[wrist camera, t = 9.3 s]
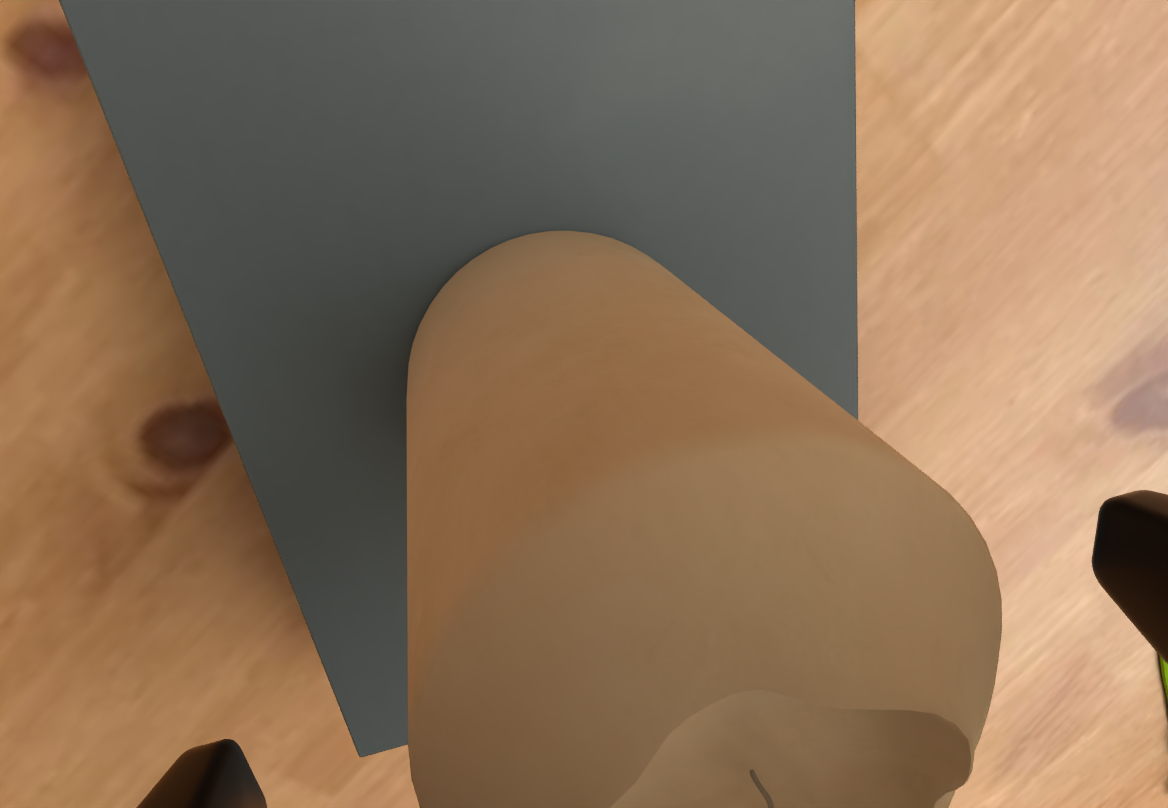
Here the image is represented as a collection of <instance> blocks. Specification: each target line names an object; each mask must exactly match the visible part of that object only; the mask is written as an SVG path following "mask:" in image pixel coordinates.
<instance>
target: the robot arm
mask: <svg viewBox="0 0 1168 808" xmlns="http://www.w3.org/2000/svg"><path fill="white" fill-rule="evenodd" d="M1092 567H1093V571H1094V574H1095V576H1096V578H1097V580H1098V582H1099V583H1100V585H1101V586H1102V587H1103V589H1104V590H1105V591H1106V592H1107V593H1108V595H1109V596H1110V597H1111V598H1112V599H1113V600H1114V602H1115V603H1116V604H1117V605H1118V606H1119V608H1120V609H1121V610H1122V611H1123V612H1124V613H1125V615H1126V616H1127V617H1128V618H1129V619H1130V621H1131V622H1132V623H1133V624H1134V625H1135V627H1136V628H1137V629H1138V630H1139V631H1140V632H1141V634H1142V635H1143V636H1144V637H1145V638H1146V640H1147V641H1148V642H1149V643H1150V644H1151V645H1152V647H1153V648H1154V649H1155V650H1156V651H1157V653H1158V654H1159V655H1160V656H1161V657H1162V658H1163V660H1164V661H1165V662H1166V663H1167V664H1168V495H1166V494H1162V493H1158V492H1154V491H1148V490H1139V491H1134V492H1130V493H1127V494H1123V495H1119V496H1116V497H1112V498H1109V499H1108V500H1106V501H1105V502H1104V503H1103V505H1102V506H1101V508H1100V511H1099V515H1098V522H1097V529H1096V535H1095V542H1094V548H1093V555H1092ZM137 808H267V804H266V801H265V797H264V795H263V793H262V791H261V789H260V787H259V785H258V782H257V780H256V778H255V776H254V774H253V772H252V770H251V768H250V766H249V764H248V762H247V760H246V758H245V756H244V754H243V752H242V750H241V748H240V746H239V745H238V744H237V743H236V742H235V741H233V740H230V739H224V740H220V741H216V742H213V743H209V744H205V745H202V746H198V747H194V748H192V749H189V750H187V751H186V752H184V753H183V754H182V755H181V756H180V757H179V758H178V759H177V760H176V762H175V763H174V764H173V765H172V766H171V767H170V769H169V770H168V771H167V772H166V773H165V775H164V776H163V777H162V778H161V779H160V781H159V782H158V783H157V784H156V785H155V786H154V788H153V789H152V790H151V791H150V792H149V794H148V795H147V796H146V797H145V798H144V799H143V801H142V802H141V803H140V804H139V805H138V807H137Z"/></svg>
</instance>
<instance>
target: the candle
mask: <svg viewBox="0 0 1168 808" xmlns="http://www.w3.org/2000/svg"><path fill="white" fill-rule="evenodd" d="M406 403H407V629H408V748H409V758H410V768H411V777H412V782H413V785H414V789H415V792H416V795H417V799H418V802H419V806H420V808H948V807H949V804H950V802H951V800H952V797H953V795H954V793H955V790H956V789H958V788H959V787H961V786H963V785H964V784H965V783H966V782H967V781H968V779H969V776H970V774H971V772H972V768H973V760H974V751H975V749H976V746H977V744H978V741H979V739H980V737H981V734H982V730H983V727H984V724H985V721H986V718H987V714H988V711H989V707H990V702H991V698H992V694H993V689H994V685H995V678H996V671H997V664H998V657H999V649H1000V641H1001V631H1002V608H1001V594H1000V588H999V583H998V577H997V572H996V568H995V566H994V563H993V560H992V557H991V555H990V552H989V549H988V547H987V544H986V542H985V540H984V539H983V537H982V535H981V534H980V532H979V530H978V528H977V527H976V525H975V523H974V522H973V520H972V518H971V517H970V516H969V515H968V514H967V512H966V511H965V510H964V509H963V508H962V507H961V506H960V504H959V503H958V502H957V501H956V500H955V499H954V498H953V497H952V495H951V494H950V493H948V492H947V491H946V490H945V489H943V488H942V487H941V486H940V485H938V484H937V483H936V482H935V481H934V480H932V479H931V478H930V477H929V476H927V475H926V474H925V473H923V472H922V471H921V470H920V469H918V468H917V467H916V466H915V465H913V464H912V463H911V462H910V461H908V460H907V459H906V458H905V457H903V456H902V455H901V454H900V453H898V452H897V451H896V450H894V449H893V448H892V447H891V446H889V445H888V444H887V443H886V442H884V441H883V440H882V439H881V438H879V437H878V436H877V435H876V434H874V433H873V432H872V431H870V430H869V429H868V428H867V427H865V426H864V425H863V424H862V423H860V422H859V421H858V420H857V419H855V418H854V417H853V416H852V415H850V414H849V413H848V412H846V411H845V410H844V409H843V408H841V407H840V406H839V405H838V404H836V403H835V402H834V401H833V400H831V399H830V398H829V397H828V396H826V395H825V394H824V393H822V392H821V391H820V390H819V389H817V388H816V387H815V386H814V385H812V384H811V383H810V382H809V381H807V380H806V379H805V378H803V377H802V376H801V375H800V374H798V373H797V372H796V371H795V370H793V369H792V368H791V367H790V366H788V365H787V364H786V363H785V362H783V361H782V360H781V359H779V358H778V357H777V356H776V355H774V354H773V353H772V352H771V351H769V350H768V349H767V348H766V347H764V346H763V345H762V344H760V343H759V342H758V341H757V340H755V339H754V338H753V337H752V336H750V335H749V334H748V333H747V332H745V331H744V330H743V329H742V328H740V327H739V326H738V325H736V324H735V323H734V322H733V321H731V320H730V319H729V318H728V317H726V316H725V315H724V314H723V313H721V312H720V311H719V310H717V309H716V308H715V307H714V306H712V305H711V304H710V303H709V302H707V301H706V300H705V299H704V298H702V297H701V296H700V295H699V294H697V293H696V292H695V291H693V290H692V289H691V288H690V287H688V286H687V285H686V284H685V283H683V282H682V281H681V280H680V279H678V278H677V277H676V276H674V275H673V274H672V273H671V272H669V271H668V270H667V269H666V268H664V267H663V266H662V265H660V264H659V263H658V262H656V261H655V260H653V259H652V258H650V257H649V256H648V255H646V254H644V253H642V252H641V251H639V250H637V249H636V248H634V247H632V246H630V245H628V244H625V243H623V242H620V241H618V240H615V239H613V238H609V237H605V236H601V235H597V234H593V233H586V232H577V231H546V232H539V233H533V234H528V235H524V236H521V237H518V238H514V239H511V240H508V241H506V242H503V243H501V244H499V245H497V246H495V247H492V248H490V249H488V250H487V251H485V252H483V253H482V254H480V255H479V256H477V257H475V258H474V259H472V260H471V261H470V262H469V263H467V264H466V265H465V266H464V267H462V268H461V269H460V270H459V271H457V272H456V273H455V274H454V275H453V277H452V278H451V279H450V280H449V281H448V282H447V283H446V284H445V285H444V286H443V287H442V289H441V290H440V291H439V293H438V294H437V296H436V297H435V298H434V300H433V301H432V303H431V304H430V306H429V308H428V310H427V311H426V313H425V315H424V317H423V319H422V321H421V323H420V325H419V327H418V330H417V333H416V336H415V339H414V341H413V344H412V349H411V354H410V359H409V365H408V381H407V400H406Z"/></svg>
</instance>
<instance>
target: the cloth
mask: <svg viewBox="0 0 1168 808" xmlns="http://www.w3.org/2000/svg"><path fill="white" fill-rule="evenodd" d="M1160 663H1161V672H1162V677H1163V682H1164V686H1165V691H1166V695H1167V703H1168V664H1167V663H1166V662H1165V661H1164V660H1163V658H1162V657H1161V656H1160Z"/></svg>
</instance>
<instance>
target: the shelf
mask: <svg viewBox="0 0 1168 808" xmlns="http://www.w3.org/2000/svg"><path fill="white" fill-rule="evenodd" d="M59 2H60V4H61V7H62V9H63V12H64V14H65V17H66V19H67V22H68V24H69V27H70V29H71V32H72V34H73V37H74V39H75V42H76V44H77V47H78V49H79V52H80V55H81V57H82V60H83V62H84V65H85V67H86V70H87V72H88V75H89V77H90V80H91V82H92V85H93V87H94V90H95V92H96V95H97V97H98V100H99V102H100V105H101V107H102V110H103V112H104V115H105V118H106V120H107V123H108V125H109V128H110V130H111V133H112V135H113V138H114V140H115V143H116V145H117V148H118V150H119V153H120V155H121V158H122V160H123V163H124V165H125V168H126V170H127V173H128V175H129V178H130V180H131V183H132V186H133V188H134V191H135V193H136V196H137V198H138V201H139V203H140V206H141V208H142V211H143V213H144V216H145V218H146V221H147V223H148V226H149V228H150V231H151V233H152V236H153V238H154V241H155V243H156V246H157V249H158V251H159V254H160V256H161V259H162V261H163V264H164V266H165V269H166V271H167V274H168V276H169V279H170V281H171V284H172V286H173V289H174V291H175V294H176V296H177V299H178V301H179V304H180V306H181V309H182V312H183V314H184V317H185V319H186V322H187V324H188V327H189V329H190V332H191V334H192V337H193V339H194V342H195V344H196V347H197V349H198V352H199V354H200V357H201V359H202V362H203V364H204V367H205V369H206V372H207V374H208V377H209V380H210V382H211V385H212V387H213V390H214V392H215V395H216V397H217V400H218V402H219V405H220V407H221V410H222V412H223V415H224V417H225V420H226V422H227V425H228V427H229V430H230V432H231V435H232V437H233V440H234V443H235V445H236V448H237V450H238V453H239V455H240V458H241V460H242V463H243V465H244V468H245V470H246V473H247V475H248V478H249V480H250V483H251V485H252V488H253V490H254V493H255V495H256V498H257V500H258V503H259V505H260V508H261V511H262V513H263V516H264V518H265V521H266V523H267V526H268V528H269V531H270V533H271V536H272V538H273V541H274V543H275V546H276V548H277V551H278V553H279V556H280V558H281V561H282V563H283V566H284V568H285V571H286V574H287V576H288V579H289V581H290V584H291V586H292V589H293V591H294V594H295V596H296V599H297V601H298V604H299V606H300V609H301V611H302V614H303V616H304V619H305V621H306V624H307V626H308V629H309V631H310V634H311V637H312V639H313V642H314V644H315V647H316V649H317V652H318V654H319V657H320V659H321V662H322V664H323V667H324V669H325V672H326V674H327V677H328V679H329V682H330V684H331V687H332V689H333V692H334V694H335V697H336V699H337V702H338V705H339V707H340V710H341V712H342V715H343V717H344V720H345V722H346V725H347V727H348V730H349V732H350V735H351V737H352V740H353V742H354V745H355V747H356V750H357V752H358V755H359V757H365V756H368V755H372V754H375V753H379V752H382V751H386V750H389V749H393V748H397V747H400V746H404V745H407V744H408V629H407V403H406V400H407V381H408V365H409V359H410V354H411V349H412V344H413V341H414V339H415V336H416V333H417V330H418V327H419V325H420V323H421V321H422V319H423V317H424V315H425V313H426V311H427V310H428V308H429V306H430V304H431V303H432V301H433V300H434V298H435V297H436V296H437V294H438V293H439V291H440V290H441V289H442V287H443V286H444V285H445V284H446V283H447V282H448V281H449V280H450V279H451V278H452V277H453V275H454V274H455V273H456V272H457V271H459V270H460V269H461V268H462V267H464V266H465V265H466V264H467V263H469V262H470V261H471V260H472V259H474V258H475V257H477V256H479V255H480V254H482V253H483V252H485V251H487V250H488V249H490V248H492V247H495V246H497V245H499V244H501V243H503V242H506V241H508V240H511V239H514V238H518V237H521V236H524V235H528V234H533V233H539V232H546V231H577V232H586V233H593V234H597V235H601V236H605V237H609V238H613V239H615V240H618V241H620V242H623V243H625V244H628V245H630V246H632V247H634V248H636V249H637V250H639V251H641V252H642V253H644V254H646V255H648V256H649V257H650V258H652V259H653V260H655V261H656V262H658V263H659V264H660V265H662V266H663V267H664V268H666V269H667V270H668V271H669V272H671V273H672V274H673V275H674V276H676V277H677V278H678V279H680V280H681V281H682V282H683V283H685V284H686V285H687V286H688V287H690V288H691V289H692V290H693V291H695V292H696V293H697V294H699V295H700V296H701V297H702V298H704V299H705V300H706V301H707V302H709V303H710V304H711V305H712V306H714V307H715V308H716V309H717V310H719V311H720V312H721V313H723V314H724V315H725V316H726V317H728V318H729V319H730V320H731V321H733V322H734V323H735V324H736V325H738V326H739V327H740V328H742V329H743V330H744V331H745V332H747V333H748V334H749V335H750V336H752V337H753V338H754V339H755V340H757V341H758V342H759V343H760V344H762V345H763V346H764V347H766V348H767V349H768V350H769V351H771V352H772V353H773V354H774V355H776V356H777V357H778V358H779V359H781V360H782V361H783V362H785V363H786V364H787V365H788V366H790V367H791V368H792V369H793V370H795V371H796V372H797V373H798V374H800V375H801V376H802V377H803V378H805V379H806V380H807V381H809V382H810V383H811V384H812V385H814V386H815V387H816V388H817V389H819V390H820V391H821V392H822V393H824V394H825V395H826V396H828V397H829V398H830V399H831V400H833V401H834V402H835V403H836V404H838V405H839V406H840V407H841V408H843V409H844V410H845V411H846V412H848V413H849V414H850V415H852V416H853V417H854V418H855V419H857V420H858V343H857V212H856V81H855V0H59Z"/></svg>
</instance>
